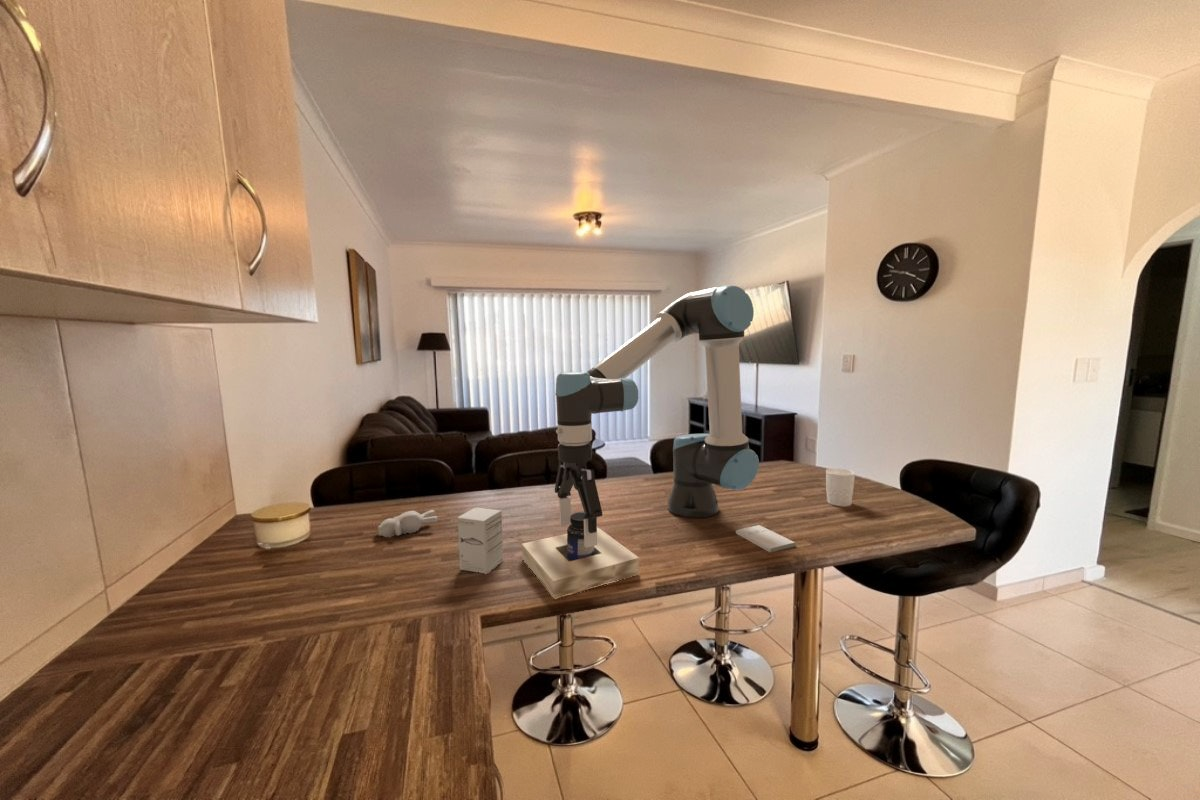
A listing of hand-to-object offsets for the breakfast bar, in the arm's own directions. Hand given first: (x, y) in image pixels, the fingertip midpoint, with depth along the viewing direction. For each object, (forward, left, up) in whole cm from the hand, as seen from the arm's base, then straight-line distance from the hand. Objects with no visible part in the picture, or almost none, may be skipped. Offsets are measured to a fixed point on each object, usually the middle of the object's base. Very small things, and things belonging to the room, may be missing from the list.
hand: (577, 534), depth 102 cm
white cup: (-88, +3, -8) cm, 88 cm away
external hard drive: (-48, +11, -8) cm, 50 cm away
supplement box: (+19, -12, -8) cm, 24 cm away
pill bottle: (0, 0, -7) cm, 7 cm away
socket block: (0, 0, -8) cm, 8 cm away
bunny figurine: (+32, -43, -8) cm, 54 cm away
